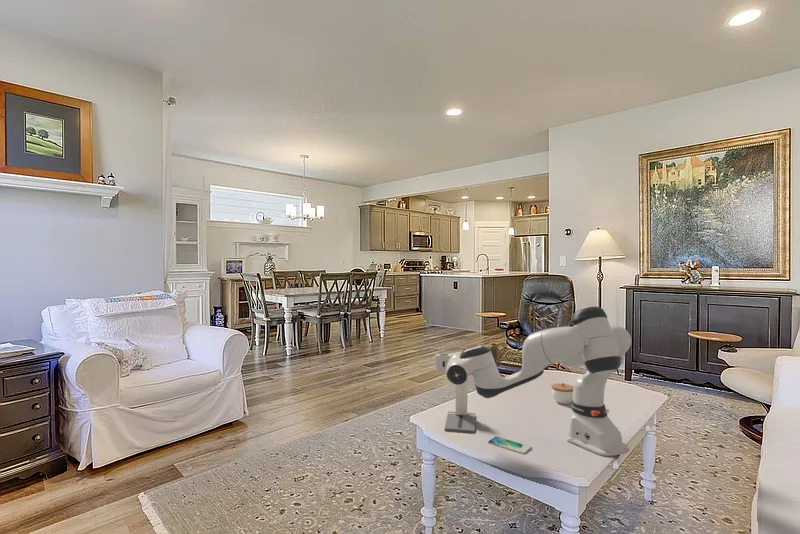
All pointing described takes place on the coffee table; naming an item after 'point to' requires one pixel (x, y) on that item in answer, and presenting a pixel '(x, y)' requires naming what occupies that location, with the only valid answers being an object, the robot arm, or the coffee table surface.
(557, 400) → the lidded jar
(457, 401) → the fader tab
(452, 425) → the board
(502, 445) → the smartphone
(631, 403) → the coffee table surface
